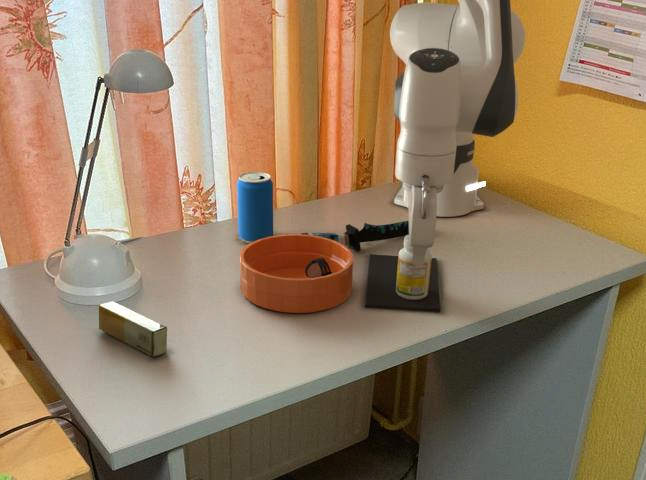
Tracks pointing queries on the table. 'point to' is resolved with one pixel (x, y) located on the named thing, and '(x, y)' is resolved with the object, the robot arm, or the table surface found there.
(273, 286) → the bowl
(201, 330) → the table surface
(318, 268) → the smartwatch
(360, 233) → the knife
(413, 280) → the supplement bottle
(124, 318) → the medication box
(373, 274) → the mat
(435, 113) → the robot arm
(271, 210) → the beverage can
